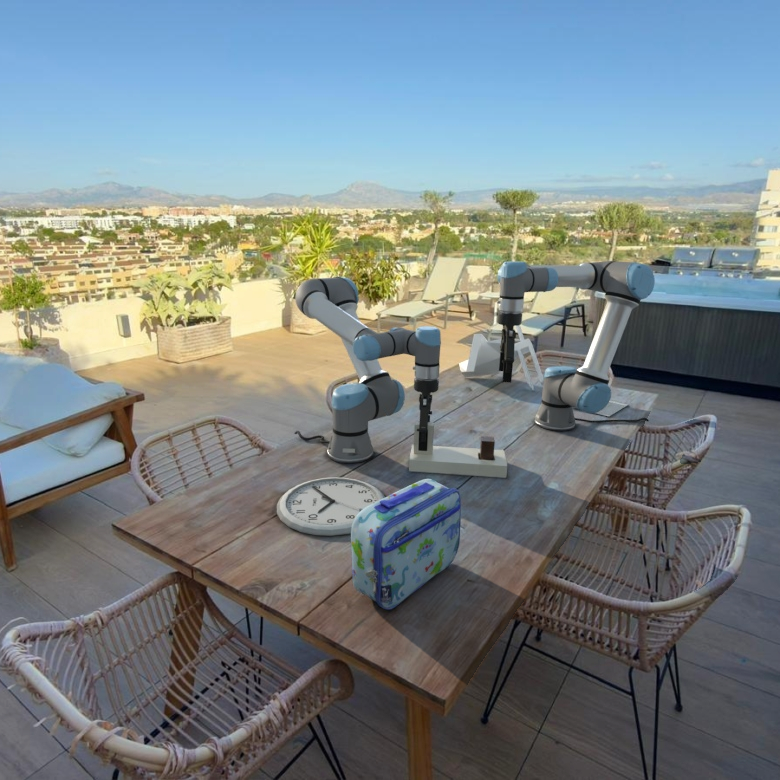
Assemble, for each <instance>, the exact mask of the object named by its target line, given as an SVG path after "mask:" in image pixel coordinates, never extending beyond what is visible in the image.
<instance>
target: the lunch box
mask: <svg viewBox="0 0 780 780" xmlns="http://www.w3.org/2000/svg"><path fill="white" fill-rule="evenodd" d="M461 499H462V498H461V493H460V491H459V490H458V489H457V488H454V487H451V488H449V487H447V486H446V485H444V484H441V483H440V482H437V481H436V480H434V479H431V478H424V479H421V480H418V481H416V482H414V483H412V484H410V485H408V486H405V487H404V488H401V489H399V490H397V491H395V492H393V493H392V494H389V495H387V496H385V498H383V499H381V500H379V501H377V502H375V503H374V504H371V505H369V506H367V507H366V508H364V509H362V510H361V511H360V512H359V513H358V514H357V516H356V517H355V519H354V521H353V524H352V529H351V533H350V547H351V548H350V552H351V576H352V584H353V588H354V590H356V591H357V592H359V593H360V594H363V595H365V596H367V597H368V598H369V599H371V600H372V601H374V602H376V604H377V606H378V607H379V608H382V609H384V610H386V611H387V610H388V611H390V610H393V609H394V608H396V607H397V606H398V605H400V604H401V603H402V602H403V601H405V600H406V599H407V598H408V597H409V596H411V595H412V594H413V593H415V592H417V590H419V589H420V588H422V587H423V586H424V585H425V584H426V583H428V581H430V580H431V579H432V578H434V577H435V576H438V574H440V573H441V572H443V571H445V570H446V569H447V568H448V567H449V566H451V564H452V563H453V562H454V560H455V558H456V556H457V554H458V551H459V548H460V541H461V522H462V521H461V519H462V515H461V513H462V512H461V510H462V509H461V508H462V506H461V505H462V504H461V503H462V502H461Z"/></svg>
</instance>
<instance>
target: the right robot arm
mask: <svg viewBox="0 0 780 780" xmlns="http://www.w3.org/2000/svg"><path fill="white" fill-rule="evenodd" d="M496 276H497V277H496V278H497V282H498V283H499V284H500V285H499V300H496V304H497V305H498V313H497V324H498V325H501V326H502V329H501V338H500V339H501V345H500V348H501V349H500V350H501V351H502V352H500V363H499V371H500V372H502V382H501V383H507V384H511V383H512V378H513V367H514V363H515V361H514V344H515V343H516V332H517V331H516V330H515V329H516V328H515V327H516V326H518V325H520V326H521V325H522V322H523V313H522V312H523V311H524V303H525V293H547V292H552V291H554V290H555V289H556V288H578V289H580V290H583V291H584V290H585V291H594V292H599V293H603V294H604V299H605V300H606V304H605V306H604V309H603V312H602V315H601V317H600V319H599V323H598V325H597V328H596V330H595V333H594V335H593V338H592V341H591V344H590V347H589V349H588V351H587V354H586V356H585V360H584V363H583V365H582V366H581V367H579V368H576V367H574V366H566V365H565V366H564V365H562V366H561V365H559V366H558V365H557V366H550V367H547V368H546V369H545V370H544V375H543V378H544V380H543V386H542V392H541V402H540V405H539V407H538V410H537V411H536V413H535V417H534V424H535V425H536V426H537V427H539V428H542V429H544V430H549V431H556V432H567V431H572V430H574V429H575V428H576V421H577V422H584V423H591V424H592V423H593V424H594V423H595V424H597V423H598V424H601V423H613V422H614V423H616V422H617V423H618V422H619V423H638V422H641V421H646V422H650V420H649V419H648V418H646V417H640V418H638V419H601V420H592V419H585V418H577V417H576V416H575V413H574V409H576V408H577V409H576V410H579V412H583V413H588V414H596V413H597V412H599V411H600V410H602V409H604V408H605V407H606V405H607V404H608V403H609V401H611V398H612V388H611V387H610V386H609V382H610V377H609V375H608V372H609V370H610V367H611V365H612V362H613V360H614V357H615V354H616V352H617V349H618V348H619V344H620V341H621V339H622V337H623V334H624V331H625V329H626V326H627V324H628V321H629V318H630V316H631V313H632V310H633V309H635V308H637V307H639V305H640V303H641V300H644V299H646V298H648V297H649V296H650V295H652V293H653V291H654V288H655V283H656V282H655V281H656V280H655V279H656V278H655V275H654V271H653V270H652V268H651V267H650V266H649V265H648V264H645V263H641V262H637V261H633V262H632V261H618V260H605V261H593V262H582V263H580V264H579V265H574V264H573V265H569V264H568V265H566V264H565V265H564V264H527V262H525V261H518V260H517V261H516V260H515V261H514V260H512V261H510V260H509V261H504V262H503V263H502V265H501V266H500V268H498V270H497V275H496ZM574 407H575V408H574Z"/></svg>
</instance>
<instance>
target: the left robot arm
mask: <svg viewBox="0 0 780 780" xmlns="http://www.w3.org/2000/svg"><path fill="white" fill-rule="evenodd" d="M295 291H296V292H295V297H294V298H295V304H296V307H297V308H298V310H299V311H300V313H302V314H303V315H304V316H305V317H307V318H308V319H311V320H316V321H317V322H319V323H320V324H321V325H323V326H324V327H325V328H327V329H329V330H330V331H331V332H332V333H334V334H335V335H336V336H338V337H339V338H340V339H341V341H342V344H343V346H344V348H345V350H346V352H347V355H348V357H349V360H350V362H351V364H352V365H353V368H354V370H355V373H356V375H357V377H358V380H359V382H353V383H351V382H350V383H345V384H341V385H339V386H338V387H336V388H335V389H334V390H333V392H332V397H331V408H332V409H331V411H332V412H331V413H332V415H331V416H332V418H331V419H332V420H331V421H332V434H331V437H330V440H325V436H324V435H320V434H318V435H313V436H309V437H304V436H303V435H302V433H301V432H300V430H296V431H294V435H298V437H299V438H300V439H301V440H303V441H312V440H315V439H319V442H320V443H321V444H328V447H327V457H328V458H329V459H330V460H332V461H333V462H337V463H339V464H358V463H359V464H360V463H363V462H366V461H368V460H370V459H371V458H372V457H374V446H373V445H372V440H371V437H370V434H369V422H370V421H375V420H378V419H382V418H385V417H390V416H392V415H394V414H397V413H399V412H400V411H401V410H402V409H403V407H404V404H405V399H406V395H405V390H404V387H403V384H402V383H401V382H400V381H398V380H397V379H394V378H393V379H392V378H391V376H390V373H389V372H388V371H385V370H383V368H382V366H381V364H380V362H379V359H383V358H389V357H395V356H399V355H408V356H412V357H414V366H412V370H414V378H413V389H414V391H416V392H418V393H419V397H418V402H419V404H418V405H419V406H418V410H419V422H420V423H419V429H417V431H419V445H418V451H427V444H428V422H431V415H433V410H431V408H432V403H433V394H434V393H437V392H438V391H439V386H440V385H439V383H440V380H439V378H440V367H441V366H440V359H441V356H440V355H441V345H442V341H441V339H442V338H441V337H442V336H441V329H439V328H438V327H435V326H428V325H425V326H419V327H416V329H415V330H410V329H406V328H404V327H392V328H390V329H389V330H388V331H384V332H376V331H374V330H372V329H371V328H369V327H368V326H367V325H366V324H364V323H363V322H361V320H360V318H359V316H358V314H357V310H358V308H359V306H358V303H359V301H360V297H359V290H358V287H357V285H356V284H355V282H354V281H353V280H352V279H350V278H349V277H345V276H334V277H321V278H309V279H306V280H305V281H303V282H301V284H300V285H299V286H298V288H297V289H296V290H295ZM432 393H433V394H432ZM421 427H425V428H421Z"/></svg>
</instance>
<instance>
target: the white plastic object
mask: <svg viewBox="0 0 780 780" xmlns="http://www.w3.org/2000/svg"><path fill="white" fill-rule="evenodd" d="M515 329H516V332H517V334H518V338H519V341H518V342H515V343H514V362H516V360H517V359H519V361H520V364H521V368H522V370H523V373H524V376H525V380H526V384H527V385H528V386H529V388H530V389H531V391H534V390H535V389H534V383H533V380H532V378H531V374H530V371H529V368H528V364H527V361H526V358H525V355H526V354H529V353H530V355H531V356H530V357H531V359H532V362H533V366H534V367H535V371H536V374H537V377H538V379H539V383H540V384H541V386H542V387H543V380H544V375H543V371H542V369H541V366H540V363H539V360H538V357H537V353H536V351H535V349H534V345H533V343H532V341H531V339H530V338H529V337H528V338H525V336H524V334H523V331H522V327H521V325H518V326H515ZM500 345H501V338H498V339H493V340H489V341H488V339H487V338H486V336H484V334H483V333H474V334H473V337H472V342H471V347H470V350H469V351H470V352H469V355H468V359H466V360H464V361H462V362H459V363H458V366H459V370H460V373H461V375H462V377H464V378H473V377H482V376H490V375H491V377H494V376H496V375H499V374H501V371H499V363H500V352H502V351H501V350H500V349H501V348H500Z"/></svg>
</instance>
